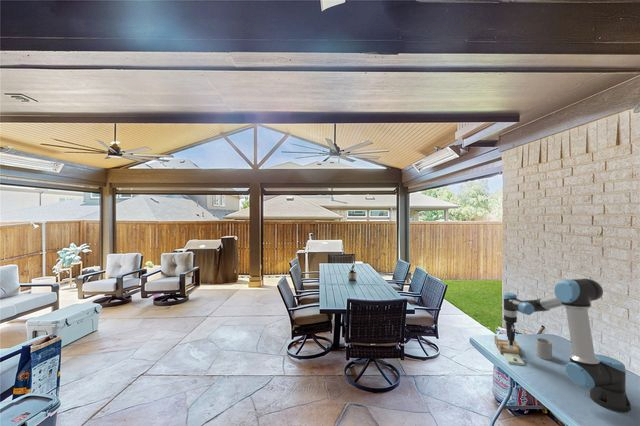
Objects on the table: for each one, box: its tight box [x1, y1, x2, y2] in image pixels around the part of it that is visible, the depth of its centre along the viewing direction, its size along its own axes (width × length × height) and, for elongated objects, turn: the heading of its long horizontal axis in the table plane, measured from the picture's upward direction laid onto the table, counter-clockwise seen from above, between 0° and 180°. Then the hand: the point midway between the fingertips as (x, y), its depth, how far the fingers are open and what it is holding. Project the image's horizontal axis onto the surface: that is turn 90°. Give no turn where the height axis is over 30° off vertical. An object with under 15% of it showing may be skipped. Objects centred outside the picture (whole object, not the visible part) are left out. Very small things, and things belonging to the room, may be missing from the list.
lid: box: [502, 352, 526, 367], centre depth 189 cm, size 12×9×3 cm
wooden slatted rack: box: [494, 335, 522, 358], centre depth 202 cm, size 16×12×6 cm
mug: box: [535, 337, 553, 361], centre depth 193 cm, size 12×8×11 cm
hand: (510, 348), depth 194 cm, fingers closed
